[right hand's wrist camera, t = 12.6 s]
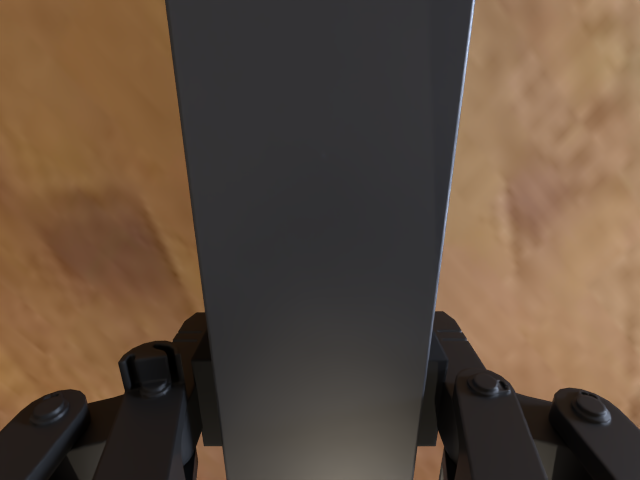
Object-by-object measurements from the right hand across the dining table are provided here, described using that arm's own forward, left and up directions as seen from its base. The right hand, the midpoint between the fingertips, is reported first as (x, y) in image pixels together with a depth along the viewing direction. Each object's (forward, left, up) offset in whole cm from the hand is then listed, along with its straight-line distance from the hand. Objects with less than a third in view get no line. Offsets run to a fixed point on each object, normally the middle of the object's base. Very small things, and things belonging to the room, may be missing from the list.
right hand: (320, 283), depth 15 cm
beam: (0, -10, -1) cm, 10 cm away
